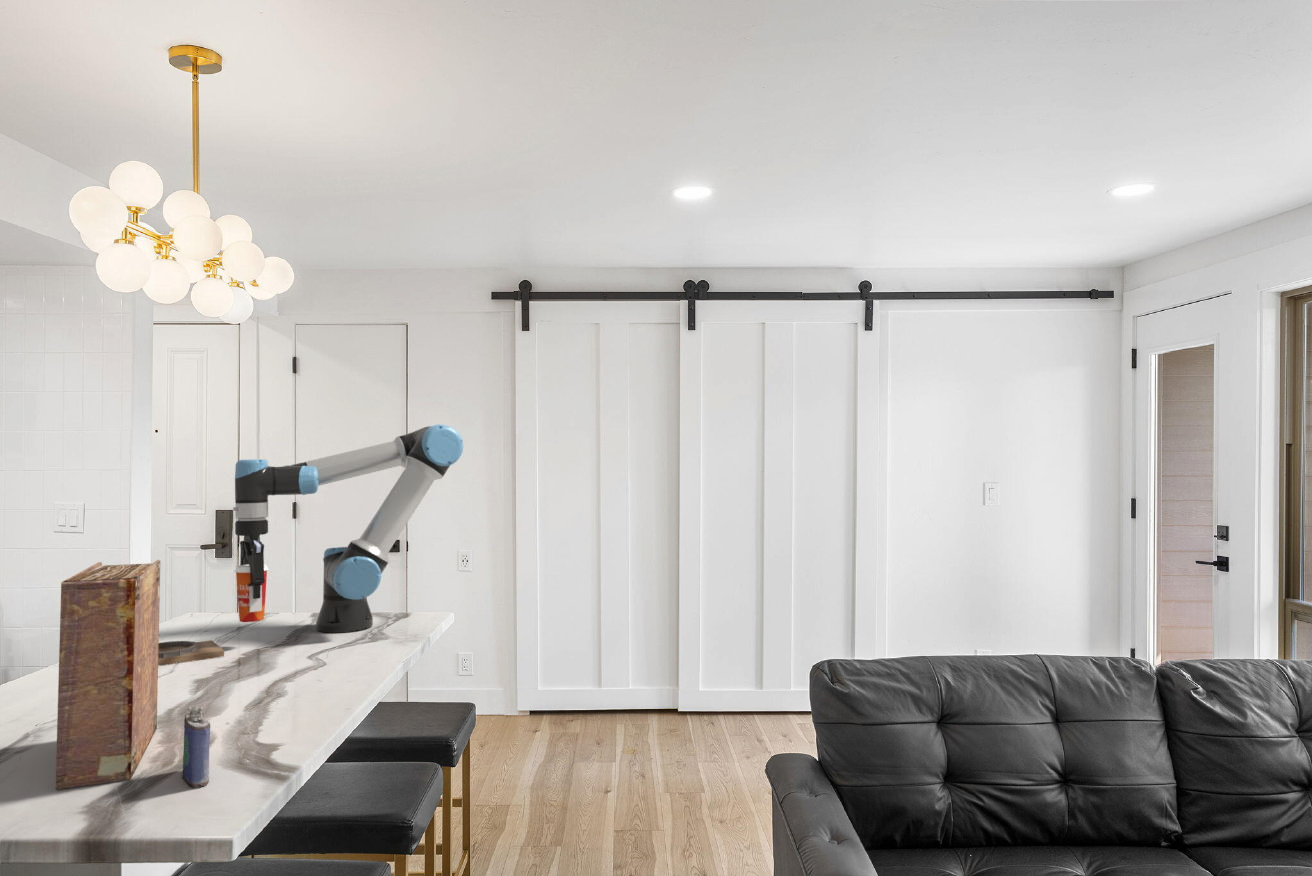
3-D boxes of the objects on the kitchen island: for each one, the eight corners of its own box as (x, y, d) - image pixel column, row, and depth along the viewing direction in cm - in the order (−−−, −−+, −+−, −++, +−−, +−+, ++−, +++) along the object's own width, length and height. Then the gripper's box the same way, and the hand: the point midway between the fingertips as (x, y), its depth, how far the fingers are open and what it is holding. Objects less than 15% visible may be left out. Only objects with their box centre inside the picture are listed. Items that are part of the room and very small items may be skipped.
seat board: (211, 646, 200) (211, 635, 200) (223, 656, 190) (224, 645, 190) (107, 659, 186) (107, 648, 186) (114, 671, 175) (115, 659, 176)
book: (95, 735, 135) (99, 561, 136) (157, 727, 139) (161, 559, 140) (54, 791, 112) (60, 582, 113) (131, 780, 116) (135, 578, 117)
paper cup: (227, 622, 197) (227, 566, 197) (251, 616, 204) (251, 562, 204) (252, 623, 194) (252, 567, 195) (275, 617, 202) (275, 563, 202)
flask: (210, 785, 114) (212, 711, 114) (187, 790, 112) (188, 715, 113) (200, 766, 121) (201, 696, 122) (178, 771, 119) (179, 700, 120)
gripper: (226, 518, 205) (226, 605, 204) (245, 522, 190) (245, 616, 189) (257, 516, 210) (258, 602, 209) (278, 520, 195) (278, 612, 194)
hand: (252, 608), depth 199 cm, fingers closed on paper cup, 7 cm apart
